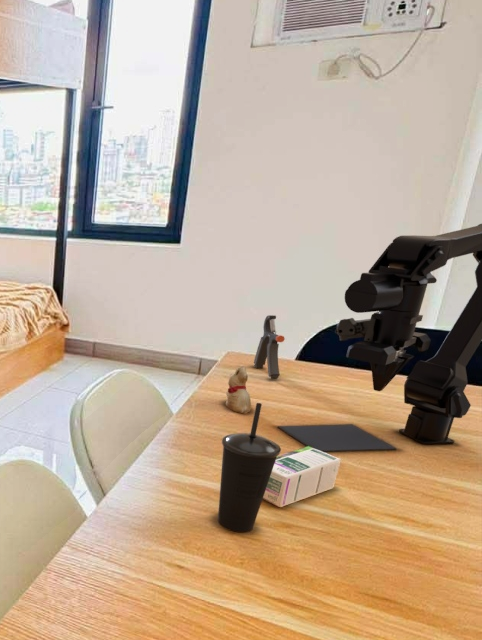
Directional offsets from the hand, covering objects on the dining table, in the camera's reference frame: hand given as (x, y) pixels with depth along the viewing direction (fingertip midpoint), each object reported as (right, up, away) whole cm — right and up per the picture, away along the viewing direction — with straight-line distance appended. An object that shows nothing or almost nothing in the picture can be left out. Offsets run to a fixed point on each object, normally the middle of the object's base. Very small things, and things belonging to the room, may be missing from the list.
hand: (377, 390), depth 117 cm
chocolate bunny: (-13, -4, +25) cm, 29 cm away
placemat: (-2, -10, +9) cm, 13 cm away
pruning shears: (+7, +4, +48) cm, 48 cm away
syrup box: (-17, -13, -9) cm, 23 cm away
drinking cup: (-38, -21, -20) cm, 48 cm away
